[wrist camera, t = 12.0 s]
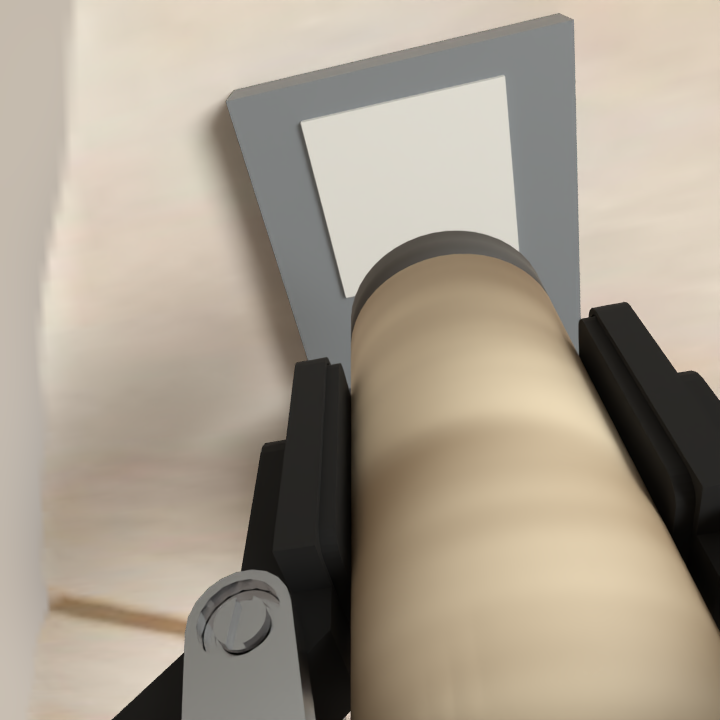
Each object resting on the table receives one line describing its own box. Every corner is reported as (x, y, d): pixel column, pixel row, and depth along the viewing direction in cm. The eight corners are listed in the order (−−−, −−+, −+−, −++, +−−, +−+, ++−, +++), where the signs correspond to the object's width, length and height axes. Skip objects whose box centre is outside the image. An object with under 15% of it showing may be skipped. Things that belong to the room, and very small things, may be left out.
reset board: (576, 501, 30) (632, 649, 24) (370, 532, 32) (374, 681, 25) (559, 13, 19) (660, 58, 13) (233, 90, 20) (179, 166, 14)
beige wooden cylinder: (549, 379, 14) (822, 1025, 6) (372, 409, 15) (397, 1050, 6) (540, 211, 12) (960, 880, 4) (330, 253, 12) (290, 933, 4)
